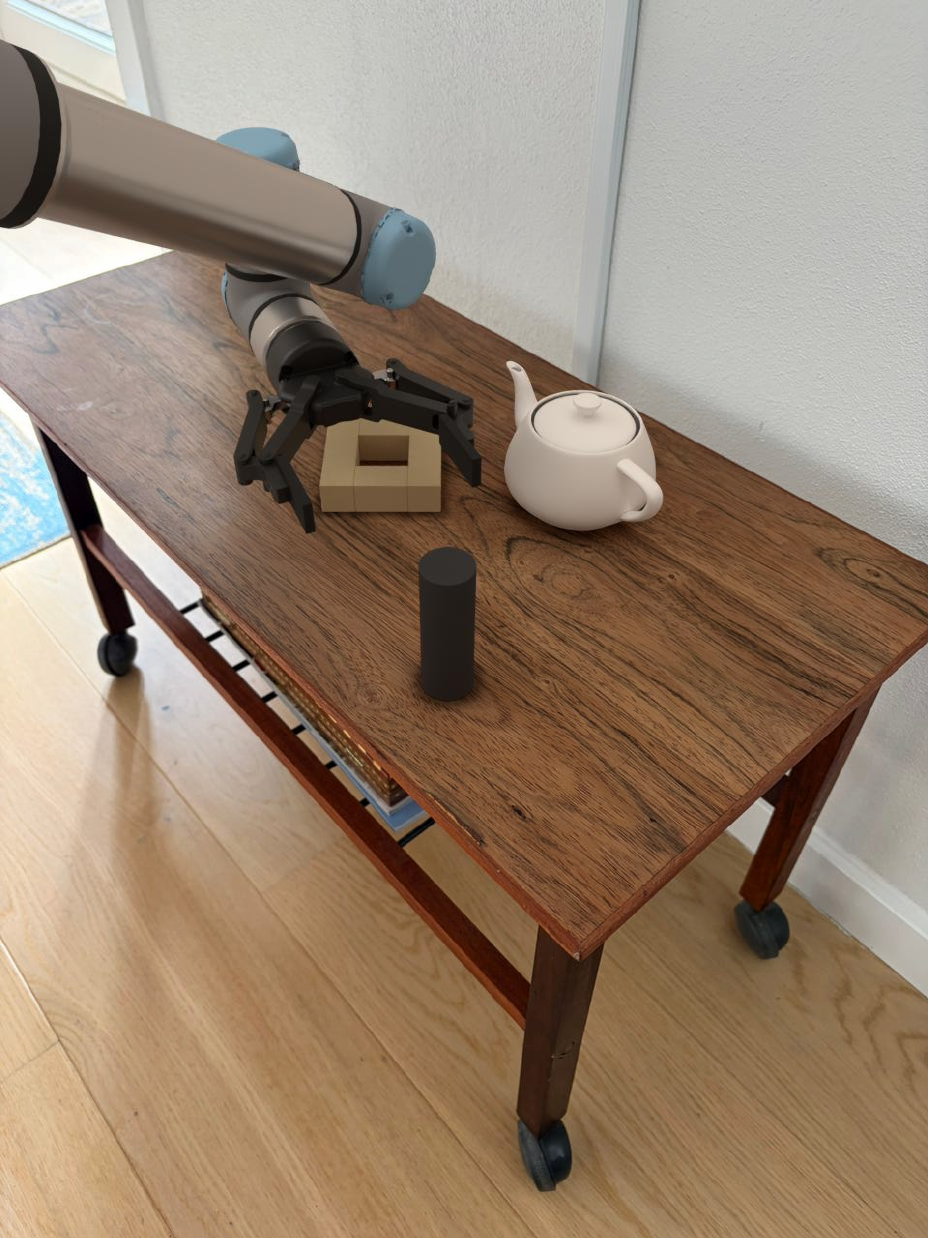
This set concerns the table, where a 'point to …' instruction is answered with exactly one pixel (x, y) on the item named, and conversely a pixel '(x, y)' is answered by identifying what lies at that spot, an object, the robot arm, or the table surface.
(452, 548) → the black cylinder peg
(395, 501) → the base pad
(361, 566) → the table surface
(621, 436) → the teapot
